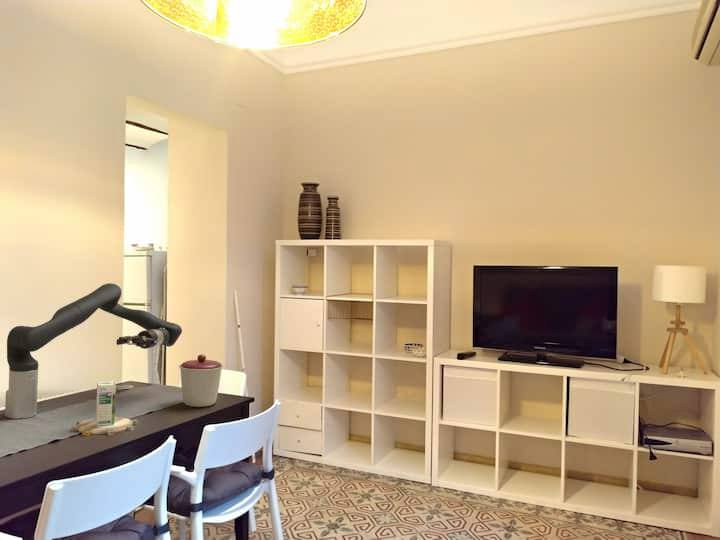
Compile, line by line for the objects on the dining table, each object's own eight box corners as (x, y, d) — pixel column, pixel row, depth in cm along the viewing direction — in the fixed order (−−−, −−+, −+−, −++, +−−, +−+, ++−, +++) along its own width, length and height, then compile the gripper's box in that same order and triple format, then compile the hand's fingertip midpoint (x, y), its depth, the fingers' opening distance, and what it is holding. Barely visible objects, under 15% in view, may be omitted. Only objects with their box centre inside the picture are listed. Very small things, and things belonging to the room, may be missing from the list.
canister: (174, 400, 237) (176, 351, 237) (217, 398, 245) (219, 350, 245) (180, 411, 221) (182, 358, 221) (225, 408, 229) (227, 357, 229)
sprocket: (56, 432, 188) (56, 428, 188) (97, 416, 209) (98, 412, 209) (113, 438, 184) (113, 435, 184) (149, 421, 205) (150, 418, 205)
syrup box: (96, 426, 193) (98, 385, 192) (95, 422, 198) (97, 381, 198) (114, 424, 195) (116, 384, 195) (112, 420, 200) (114, 380, 200)
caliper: (106, 397, 238) (107, 383, 238) (104, 397, 238) (104, 383, 238) (134, 387, 258) (134, 374, 258) (132, 387, 258) (132, 374, 258)
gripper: (135, 328, 234) (111, 332, 218) (166, 330, 231) (144, 334, 215) (134, 346, 234) (110, 351, 218) (165, 348, 231) (143, 353, 215)
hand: (127, 342), depth 217 cm, fingers open, 8 cm apart
